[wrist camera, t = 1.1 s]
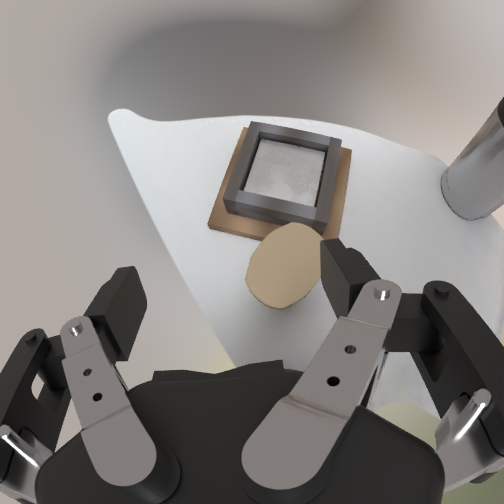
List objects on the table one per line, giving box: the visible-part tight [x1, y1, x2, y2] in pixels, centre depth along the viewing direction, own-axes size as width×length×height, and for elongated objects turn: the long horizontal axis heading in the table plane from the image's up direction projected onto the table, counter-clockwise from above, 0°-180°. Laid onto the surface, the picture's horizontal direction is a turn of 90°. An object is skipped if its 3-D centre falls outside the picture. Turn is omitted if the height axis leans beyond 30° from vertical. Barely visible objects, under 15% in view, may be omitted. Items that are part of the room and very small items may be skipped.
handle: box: [245, 222, 323, 309], centre depth 28 cm, size 5×6×15 cm
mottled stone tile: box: [244, 139, 325, 207], centre depth 35 cm, size 8×8×1 cm
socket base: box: [208, 121, 352, 241], centre depth 37 cm, size 16×16×6 cm
